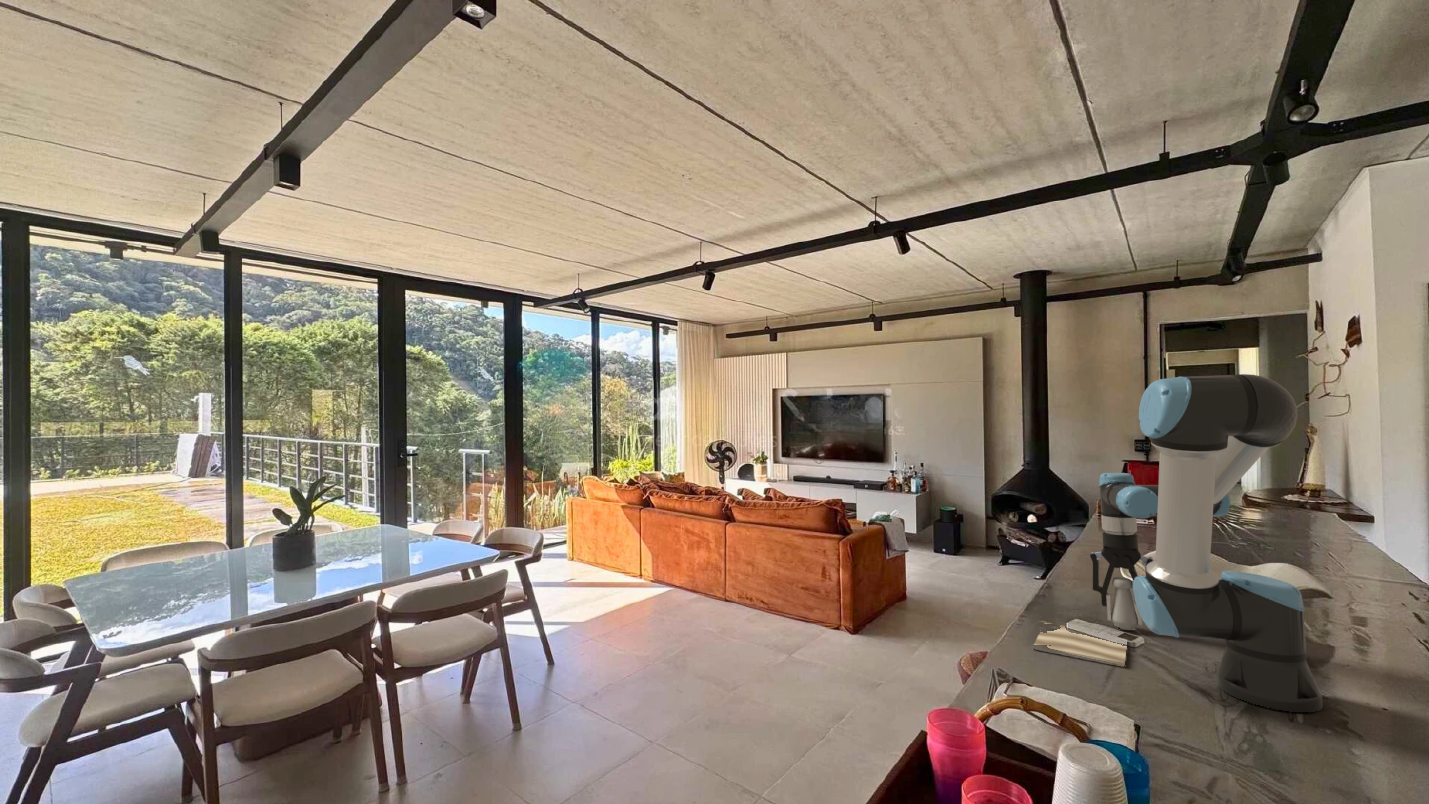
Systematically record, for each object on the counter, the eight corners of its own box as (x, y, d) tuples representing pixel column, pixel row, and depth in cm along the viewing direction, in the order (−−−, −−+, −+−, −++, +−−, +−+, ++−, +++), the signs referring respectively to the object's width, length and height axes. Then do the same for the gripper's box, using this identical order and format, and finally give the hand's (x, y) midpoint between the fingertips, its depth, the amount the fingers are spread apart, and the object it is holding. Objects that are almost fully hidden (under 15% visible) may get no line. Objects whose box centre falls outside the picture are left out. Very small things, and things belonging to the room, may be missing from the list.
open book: (1125, 668, 126) (1124, 662, 126) (1033, 650, 137) (1033, 645, 138) (1128, 641, 141) (1127, 636, 141) (1045, 626, 152) (1044, 622, 152)
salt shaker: (1138, 634, 144) (1135, 582, 145) (1111, 629, 148) (1108, 579, 148) (1138, 626, 149) (1135, 576, 149) (1112, 622, 152) (1109, 574, 153)
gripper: (1164, 532, 146) (1170, 623, 145) (1078, 526, 158) (1083, 610, 157) (1165, 538, 140) (1170, 632, 139) (1075, 531, 152) (1080, 618, 151)
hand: (1124, 621), depth 148 cm, fingers closed on salt shaker, 6 cm apart
